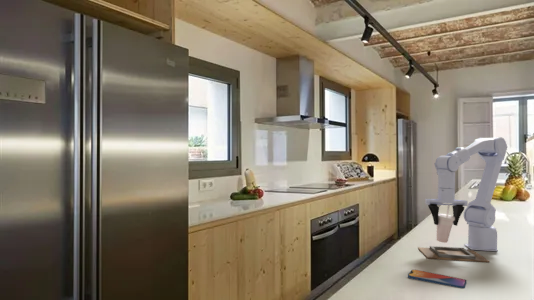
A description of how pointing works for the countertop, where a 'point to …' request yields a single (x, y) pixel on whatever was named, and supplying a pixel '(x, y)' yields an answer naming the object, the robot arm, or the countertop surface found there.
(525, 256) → the countertop surface
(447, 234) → the smoothie
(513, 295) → the countertop surface
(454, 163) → the robot arm
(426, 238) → the countertop surface
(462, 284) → the smartphone
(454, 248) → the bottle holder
